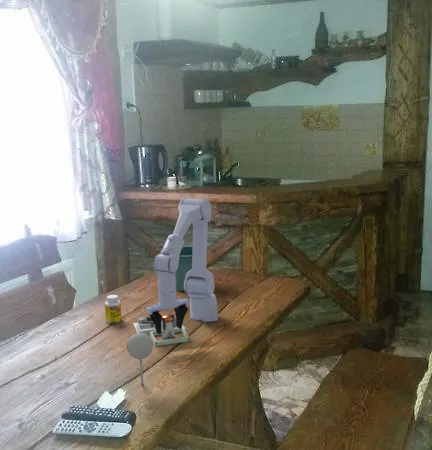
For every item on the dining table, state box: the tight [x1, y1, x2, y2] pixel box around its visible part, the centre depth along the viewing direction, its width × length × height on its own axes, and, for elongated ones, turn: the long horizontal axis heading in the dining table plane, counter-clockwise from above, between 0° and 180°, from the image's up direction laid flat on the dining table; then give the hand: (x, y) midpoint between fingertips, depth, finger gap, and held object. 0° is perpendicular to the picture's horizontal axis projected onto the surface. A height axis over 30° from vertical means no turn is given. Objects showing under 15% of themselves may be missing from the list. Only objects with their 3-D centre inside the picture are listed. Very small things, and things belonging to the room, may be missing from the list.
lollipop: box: [126, 332, 154, 386], centre depth 167 cm, size 7×7×15 cm
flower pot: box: [175, 245, 202, 292], centre depth 253 cm, size 16×16×16 cm
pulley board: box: [132, 314, 186, 335], centre depth 209 cm, size 16×12×4 cm
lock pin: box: [161, 313, 175, 340], centre depth 198 cm, size 5×5×8 cm
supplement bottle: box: [104, 294, 123, 325], centre depth 214 cm, size 6×6×10 cm
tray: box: [149, 327, 191, 347], centre depth 198 cm, size 11×9×2 cm
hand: (169, 330), depth 197 cm, fingers open, 7 cm apart
